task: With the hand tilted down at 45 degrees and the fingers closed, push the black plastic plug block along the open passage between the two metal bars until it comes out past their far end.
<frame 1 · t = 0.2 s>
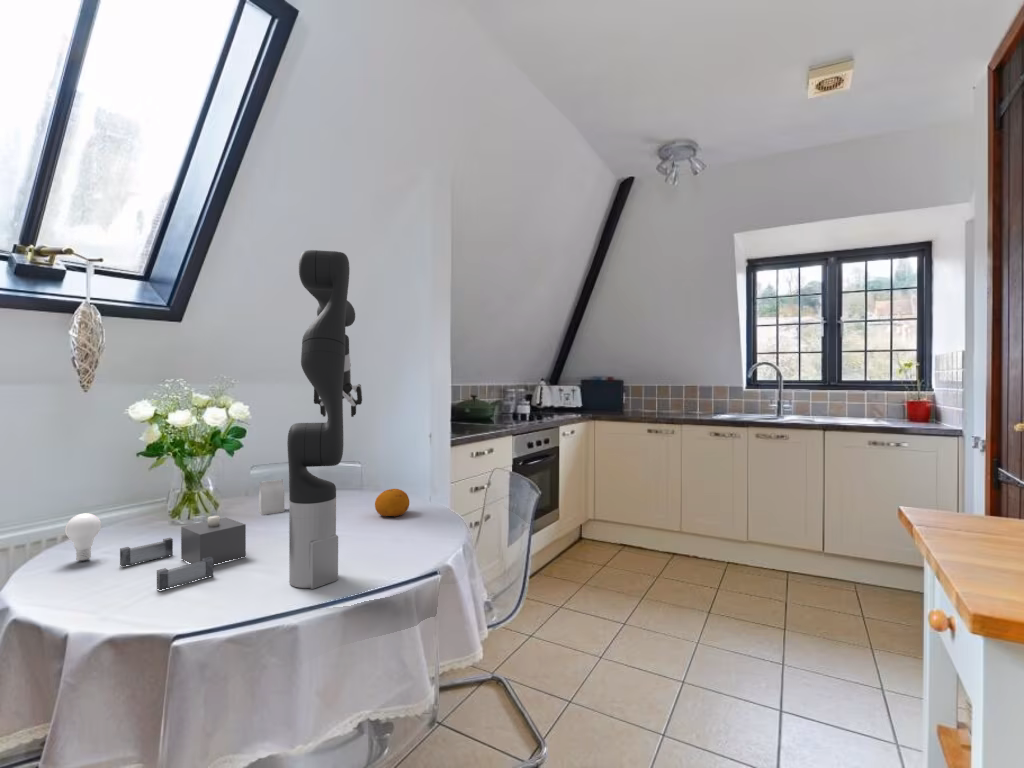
hand: (338, 415, 163), 31 cm above the table, tool tilted 20°, fingers open, 8 cm apart
grey rectangular block: (271, 512, 163), on the table
lightbulb: (83, 561, 119), on the table
fruit: (392, 515, 160), on the table
metal bars: (165, 571, 113), on the table
plug block: (213, 559, 121), on the table
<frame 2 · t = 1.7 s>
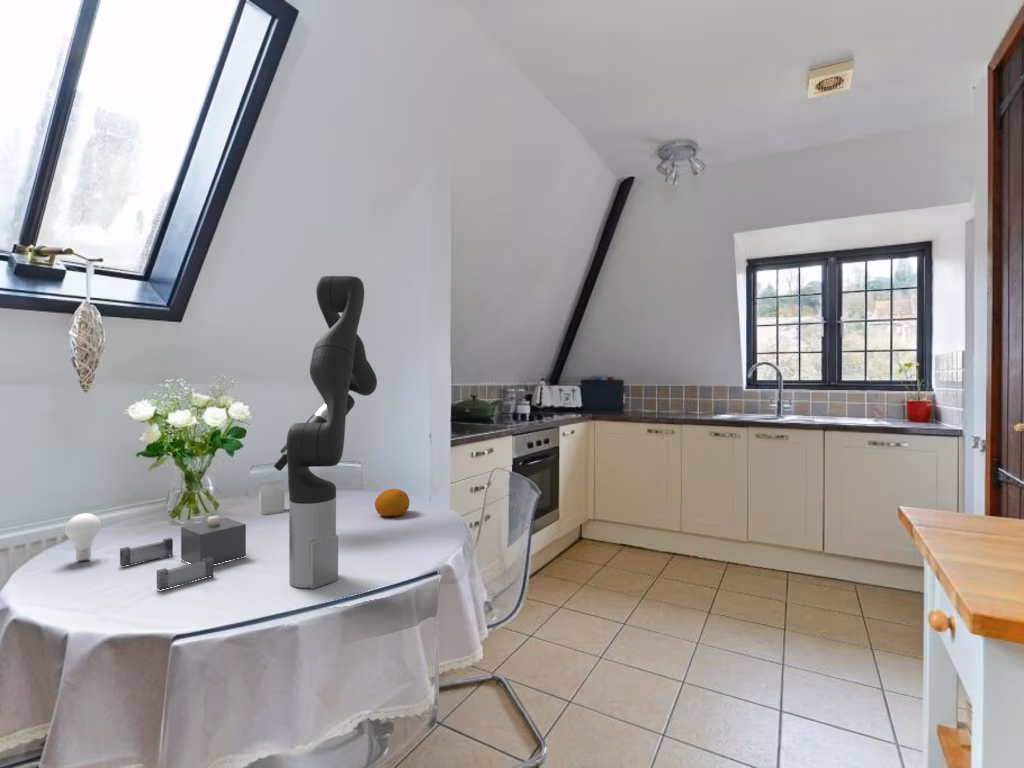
hand: (284, 470, 135), 18 cm above the table, tool tilted 45°, fingers open, 6 cm apart
nothing on the table moved.
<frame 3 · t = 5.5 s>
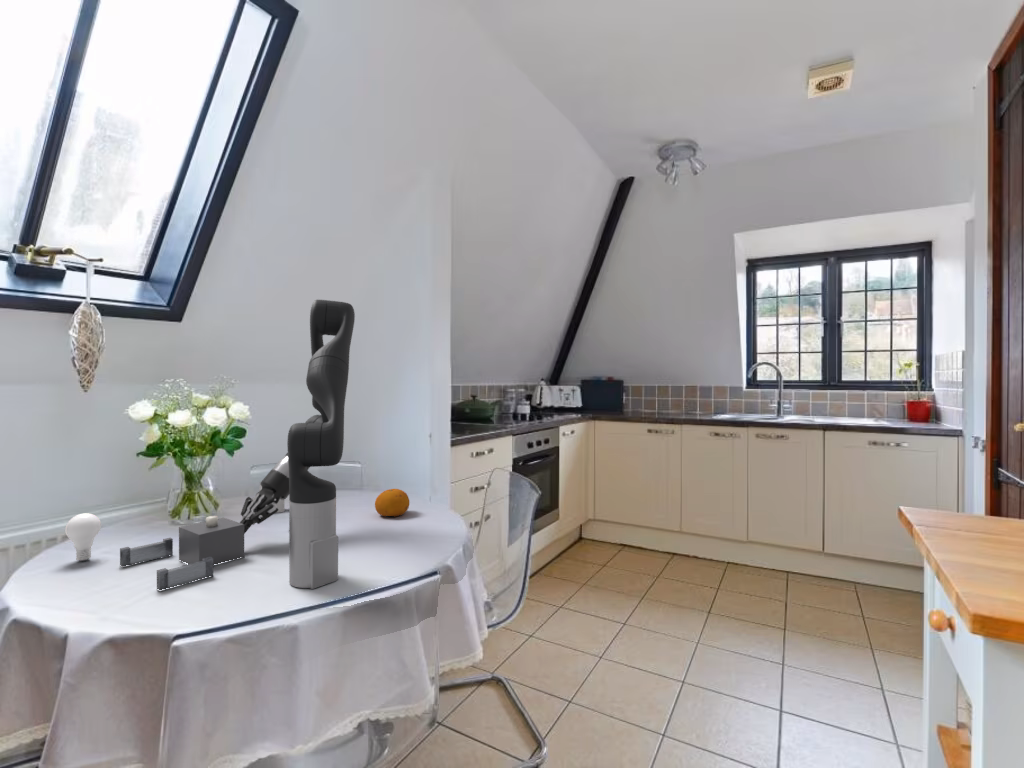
hand: (236, 534, 125), 4 cm above the table, tool tilted 45°, fingers closed
plug block: (211, 559, 121), on the table, touching gripper
everything else where it was.
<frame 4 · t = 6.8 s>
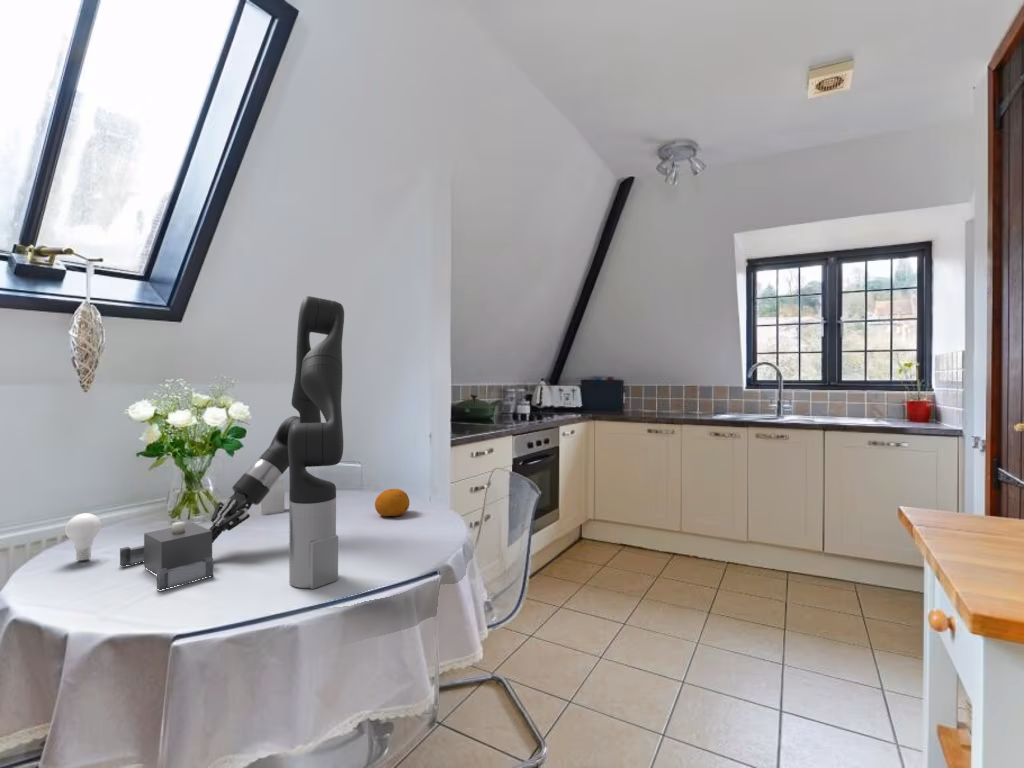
hand: (205, 542, 120), 4 cm above the table, tool tilted 45°, fingers closed
plug block: (178, 567, 115), on the table, touching gripper
everything else where it was.
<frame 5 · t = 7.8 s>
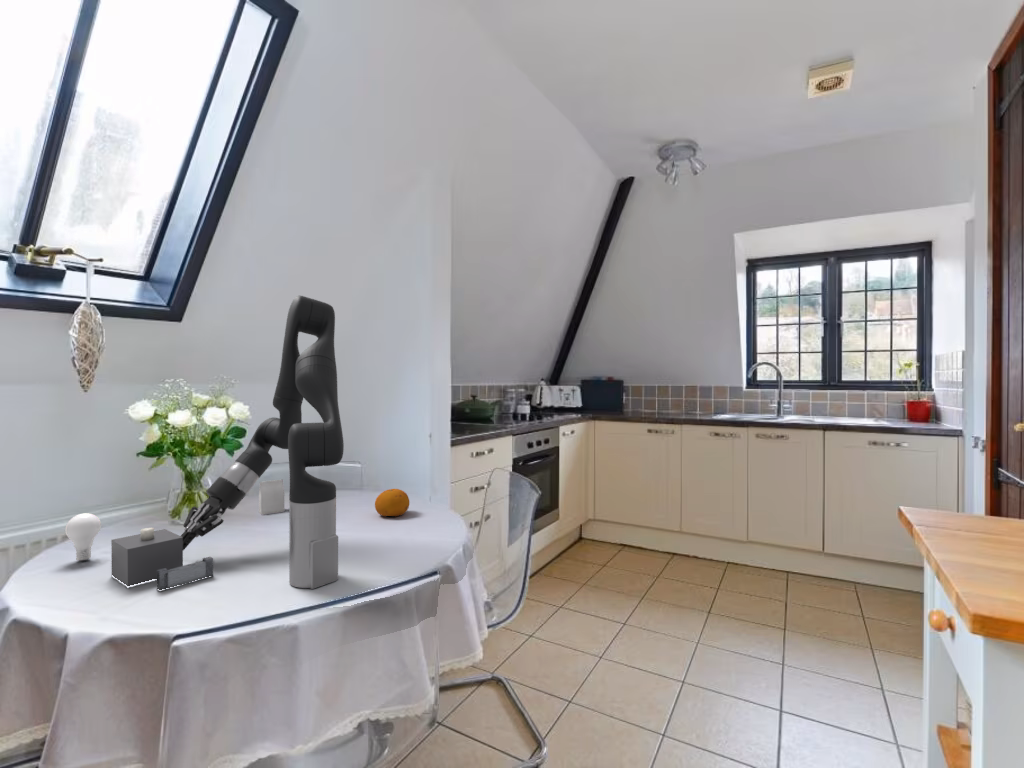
hand: (177, 548, 115), 4 cm above the table, tool tilted 45°, fingers closed
plug block: (147, 575, 111), on the table, touching gripper
everything else where it was.
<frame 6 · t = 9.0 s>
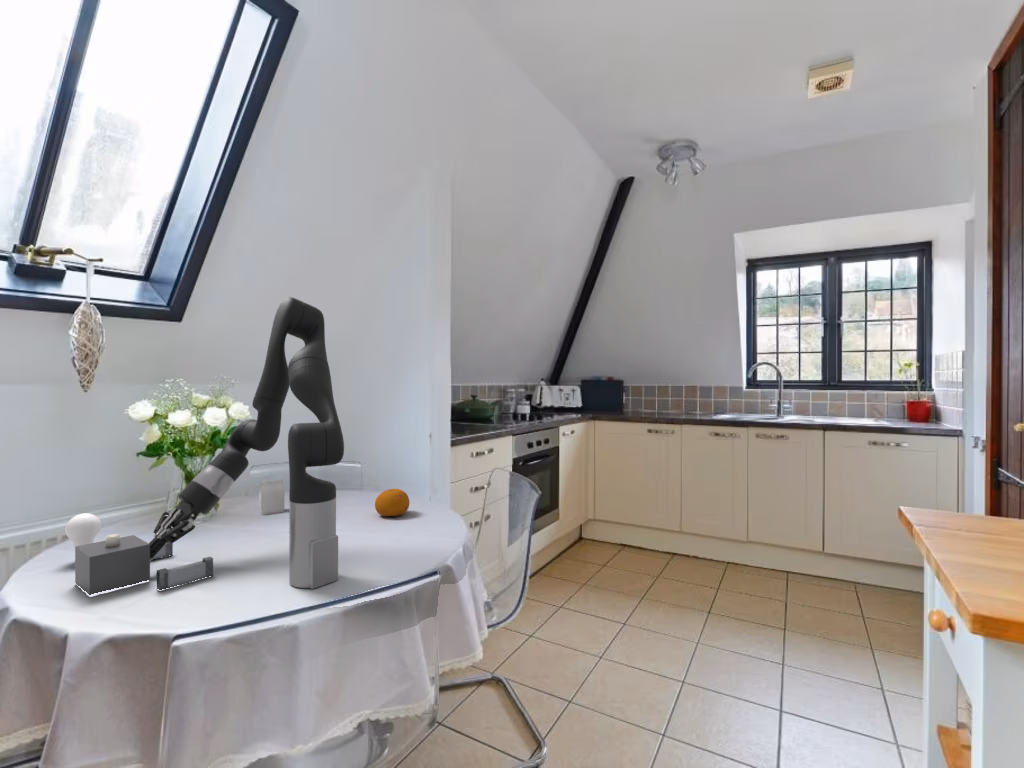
hand: (146, 555, 110), 4 cm above the table, tool tilted 45°, fingers closed
plug block: (113, 583, 106), on the table, touching gripper
everything else where it was.
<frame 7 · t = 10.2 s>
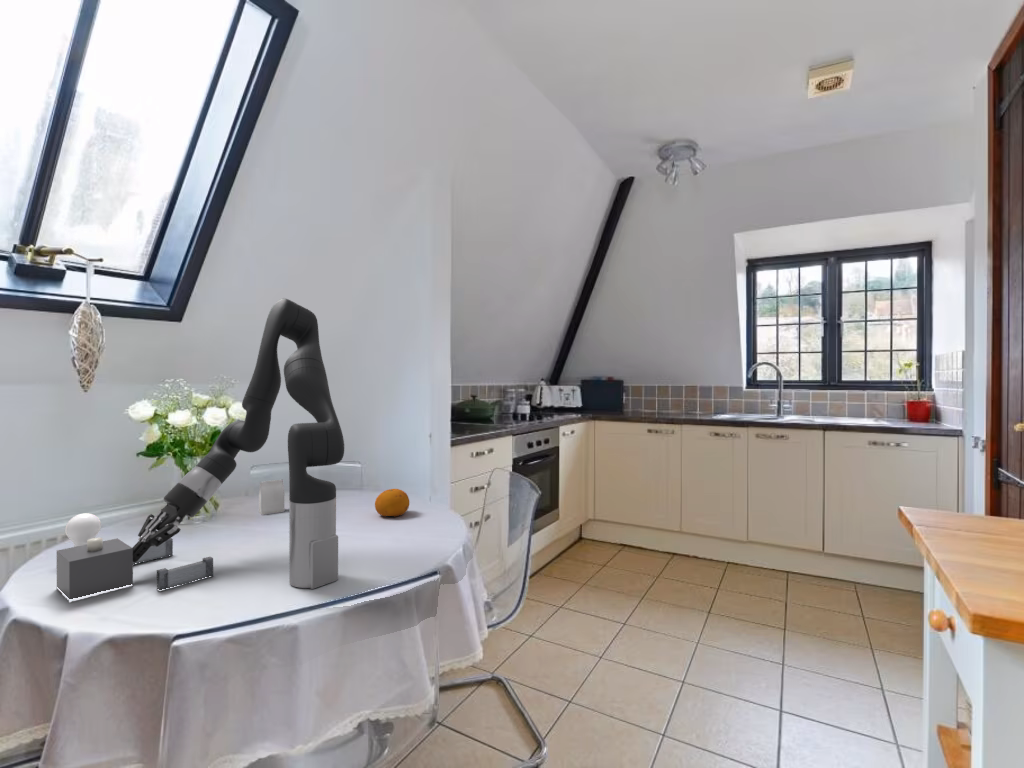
hand: (129, 559, 108), 4 cm above the table, tool tilted 45°, fingers closed
plug block: (95, 588, 104), on the table
everything else where it was.
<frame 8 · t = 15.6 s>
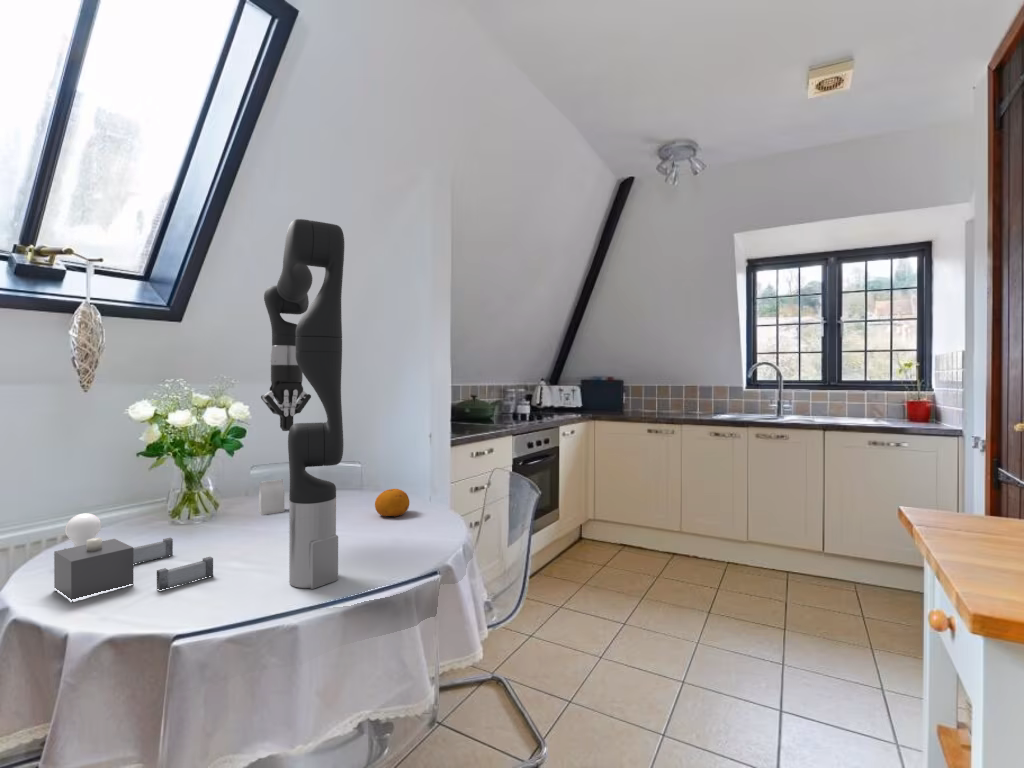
hand: (286, 430, 133), 29 cm above the table, tool pointing down, fingers closed
nothing on the table moved.
at the end: plug block inside the target area (3.5 cm from its centre), on the table; plug block tilted 0° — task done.
